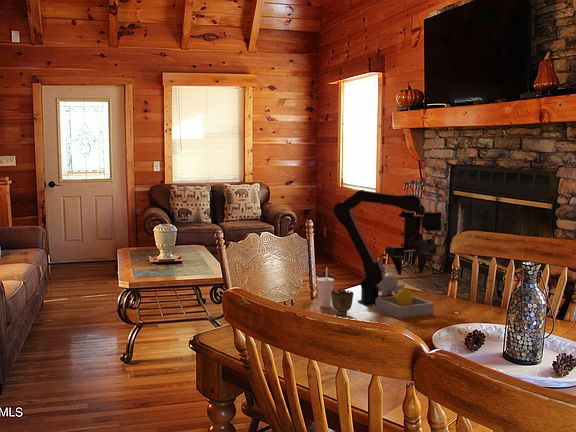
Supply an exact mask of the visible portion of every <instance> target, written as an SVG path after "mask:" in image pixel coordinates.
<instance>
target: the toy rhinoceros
mask: <svg viewBox="0 0 576 432" xmlns="http://www.w3.org/2000/svg"><path fill="white" fill-rule="evenodd" d="M405 284H406V283H399V280H398V278H397V276H396V275H395V274H393V273H391V272H385V277H384V279H383V280H382V281H381V282H380V283H379V284H378V285H377V286H378V288H379V291H378V292H379V293H381V295H382V296H383V295H384V296H383V297H388V296H389V295H388V294H391V295H393V293H394V294H396V295H397V293H398V291H399V290H401V289H403V288H405V287H404V286H405ZM387 295H388V296H387Z"/></svg>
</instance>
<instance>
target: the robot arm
mask: <svg viewBox="0 0 576 432" xmlns="http://www.w3.org/2000/svg"><path fill="white" fill-rule="evenodd" d="M363 202H366V203H367V202H368V203H373V204H378V205H379V204H380V205H381V204H382V205H386V206H387V205H388V206H393V207H397V208H400V209H401V210H402V211H401V212H400V213H399V214H398V217H399V218H403V231H401V232H400V236H403V237H402V240H403V242H402V243H400V246H398V245H387V246H386V247H385V250H384V255H387V256H388V257H390V260H391V261H392V263H393V264H394V267H395V269H396V272H397V275H399V276H402V270H403V268H402V267H403V260H404V259H405V256H403V255H404V254H407V253H416V254H417V255H416V256H417V267H418V272H419V274H422V273H423V271H424V268H425V267H426V264H427V262H428V259H430V258H431V257H433V256H434V254H437V249H438V248H437V246H436V244H435V239H433V238H428V239H424V235H423V233H421V228H423V229H424V231H425V232H441V233H442V231H443V222H444V221H443V212H442V211H436V212H435V211H427V209H426V208H425V206H424V205H423V200H422V198H421V196H420V195H418V194H416V193H411V194H410V193H407V194H390V193H383V192H377V191H376V192H375V191H369V190H368V191H367V190H364V189H358V190H356V192H355V193H354V194H352V195H351V196H349V197H348V198H347V199H345V200H344V201H341V202H337V203H336V204H335V205H334V207H333V209H332V212H333V215H334V216H335V218H336V219H337V220H338V222H339V223H340V224H341V225H342V226H343V227H344V228H345V230H346V232H347V234H348V235H349V238H350V239H351V242H352V244H353V245H354V249H355V250H356V252H357V254H358V255H359V257H360V260H361V261H362V265H363V271H364V274H365V277H364V278H363V279H362V280H361V281H360V282H359V284H360V288H361V291H360V293H361V295H360V296H361V297H360V299H358V300H357V303H358V304H359V303H360V304H361V305H365V306H367V307H369V306H374V305H375V306H376V298H380V297H379V295H380V292H378V291H379V288H378V286H377V285H378V284H379V283H380V282H381V281H382V280H383V279H384V277H385V273H386V271H385V270H386V267H385V266H384V265H383V262H382V260H381V258H380V259H378V260H377V259H376V258H375V257H374V255H373V254H372V252H371V250H370V248H369V246H368V243H367V242H366V240H365V238H364V236H363V234H362V232H361V230H360V228H359V225H358V224H357V222H356V216H355V211H354V209H355V208H356V207H358V206H359V205H360V204H361V203H363Z"/></svg>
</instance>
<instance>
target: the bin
mask: <svg viewBox="0 0 576 432" xmlns="http://www.w3.org/2000/svg"><path fill="white" fill-rule="evenodd" d="M434 306H435V305H434V302H432V301H428V300H424V299H422V298H419V297H416V296H413V295H412V304H411V305H409V306H398V305H397V303H396V295H389V296H381V297H379V298H376V305H375V310H377V311H378V312H381V313H383V314H385V315H387V316H391V317H392V318H393V317H394V318H395V319H398V320H404V319H405V320H406V319H412V318H413V319H414V318H419V317H428V316H434V310H435V309H434Z"/></svg>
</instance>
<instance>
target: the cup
mask: <svg viewBox="0 0 576 432" xmlns="http://www.w3.org/2000/svg"><path fill="white" fill-rule="evenodd" d="M354 293H355V292H353V291H352V290H349V289H348V290H347V291H346V289H342V290H341V289H338V290H337V291H336V290H332V292H331V294H332V296H331V303H332V307H333V309H334V310H335V311H336V315H337V316H339V317H346V316H348V311H349V310H351V309H352V306H353V301H354V299H353V298H354Z"/></svg>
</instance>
